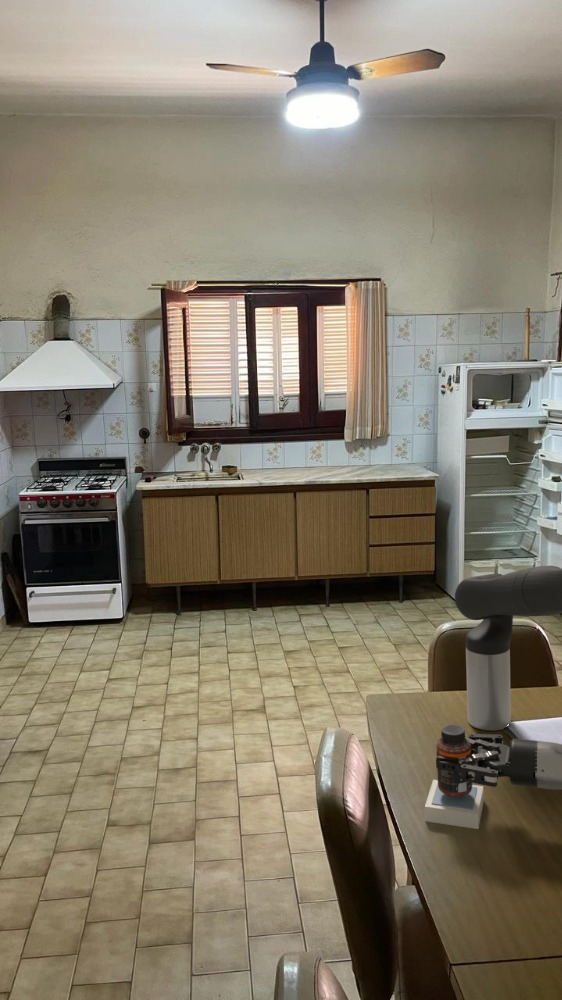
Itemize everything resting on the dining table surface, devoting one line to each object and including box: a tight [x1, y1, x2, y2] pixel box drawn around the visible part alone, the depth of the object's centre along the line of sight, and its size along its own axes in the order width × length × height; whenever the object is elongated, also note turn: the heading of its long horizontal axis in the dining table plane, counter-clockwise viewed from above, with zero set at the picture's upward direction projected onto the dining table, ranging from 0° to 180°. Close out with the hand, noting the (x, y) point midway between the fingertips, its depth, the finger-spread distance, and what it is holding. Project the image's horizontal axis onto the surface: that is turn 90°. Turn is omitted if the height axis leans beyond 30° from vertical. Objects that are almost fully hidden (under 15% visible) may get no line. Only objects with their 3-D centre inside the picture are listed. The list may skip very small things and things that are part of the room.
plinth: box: [424, 779, 485, 830], centre depth 133 cm, size 9×9×3 cm
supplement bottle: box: [435, 724, 473, 797], centre depth 132 cm, size 6×6×11 cm
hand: (439, 753), depth 132 cm, fingers closed on supplement bottle, 6 cm apart
